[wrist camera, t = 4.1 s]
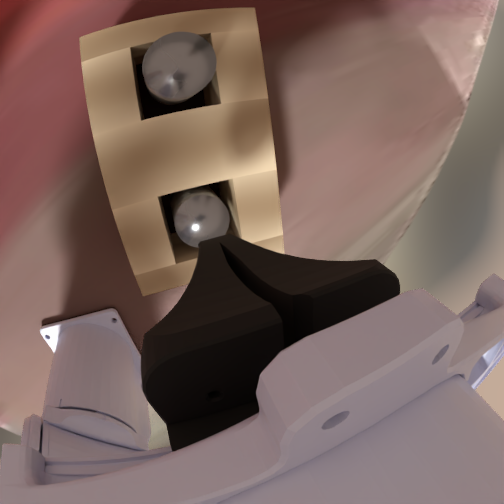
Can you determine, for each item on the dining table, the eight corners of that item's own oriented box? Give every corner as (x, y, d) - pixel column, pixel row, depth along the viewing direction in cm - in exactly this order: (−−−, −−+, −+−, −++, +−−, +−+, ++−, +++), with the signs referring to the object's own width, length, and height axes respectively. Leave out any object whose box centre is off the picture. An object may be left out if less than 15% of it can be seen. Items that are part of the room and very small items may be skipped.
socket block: (259, 229, 22) (284, 256, 18) (143, 261, 20) (143, 296, 16) (232, 29, 14) (254, 7, 10) (95, 55, 12) (79, 37, 8)
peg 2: (216, 214, 20) (233, 239, 16) (175, 225, 19) (182, 253, 15) (209, 174, 18) (224, 189, 15) (165, 184, 18) (169, 203, 14)
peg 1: (203, 99, 14) (221, 90, 10) (150, 110, 13) (147, 105, 9) (196, 51, 12) (212, 27, 9) (142, 61, 12) (138, 39, 8)
